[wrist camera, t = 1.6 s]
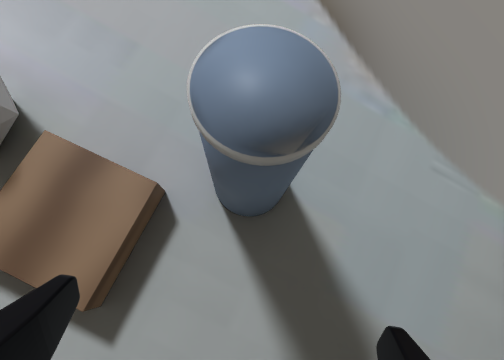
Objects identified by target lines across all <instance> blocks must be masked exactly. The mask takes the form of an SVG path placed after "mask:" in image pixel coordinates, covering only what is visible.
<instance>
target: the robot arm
mask: <svg viewBox="0 0 504 360" xmlns="http://www.w3.org/2000/svg"><path fill="white" fill-rule="evenodd" d="M79 300H80V293H79V288H78V283H77V279H76V277H75V276H71V275H65V274H61V275H58V276H56V277H54V278H53V279H51V280H49V281H48V282H46V283H44V284H43V285H41V286H39V287H38V288H36V289H34V290H33V291H31V292H29V293H28V294H26V295H24V296H23V297H21V298H19V299H18V300H16V301H14V302H13V303H11V304H9V305H8V306H6V307H4V308H3V309H1V310H0V360H50V359H51V358H52V356H53V354H54V352H55V350H56V348H57V346H58V344H59V342H60V340H61V338H62V336H63V334H64V332H65V330H66V328H67V326H68V324H69V321H70V319H71V317H72V315H73V313H74V311H75V309H76V307H77V305H78V303H79ZM377 357H378V360H430V359H429V357H428V356H427V355H426V354H425V353H424V352H423V351H422V349H421V348H420V347H419V346H418V345H417V344H416V342H415V341H414V340H413V339H412V338H411V337H410V336H409V334H408V333H407V332H406V331H405V330H404V329H402V328H400V327H394V326H388V327H386V328H385V330H384V332H383V333H382V335H381V337H380V339H379V340H378V343H377Z"/></svg>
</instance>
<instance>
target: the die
mask: <svg viewBox="0 0 504 360" xmlns="http://www.w3.org/2000/svg"><path fill="white" fill-rule="evenodd" d="M18 115H19V113H18V111H17V109H16V106H15V104H14V102H13V99H12V97H11V95H10V94H9V92H8V90H7V88H6V86H5V84H4V82H3V80H2V78H1V76H0V144H1V143H2V141H3V139H4V138H5V136H6V135H7V133H8V131H9V130H10V128H11V126H12V125H13V123H14V121H15V120H16V118H17V117H18Z"/></svg>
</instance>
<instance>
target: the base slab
mask: <svg viewBox="0 0 504 360" xmlns="http://www.w3.org/2000/svg"><path fill="white" fill-rule="evenodd" d="M164 193H165V190H164V189H163V188H162V187H161V186H160V185H159V184H158V183H156V182H154V181H152V180H150V179H148V178H146V177H144V176H142V175H139V174H137V173H135V172H133V171H131V170H129V169H127V168H125V167H122V166H120V165H118V164H116V163H114V162H112V161H110V160H108V159H105V158H103V157H101V156H99V155H97V154H95V153H93V152H91V151H88V150H86V149H84V148H82V147H80V146H78V145H76V144H74V143H71V142H69V141H67V140H65V139H63V138H61V137H59V136H57V135H54V134H52V133H50V132H48V131H46V130H45V131H44V132H43V133H42V135H41V136H40V137H39V139H38V140H37V141H36V143H35V144H34V145H33V147H32V148H31V150H30V151H29V152H28V154H27V155H26V156H25V158H24V159H23V160H22V162H21V163H20V165H19V166H18V167H17V169H16V170H15V171H14V173H13V174H12V175H11V177H10V178H9V179H8V181H7V182H6V184H5V185H4V186H3V188H2V189H1V190H0V270H2V271H4V272H6V273H8V274H10V275H12V276H14V277H16V278H18V279H20V280H21V281H23V282H25V283H27V284H29V285H31V286H33V287H35V288H38V287H39V286H41V285H43V284H44V283H46V282H48V281H49V280H51V279H53V278H54V277H56V276H58V275H61V274H65V275H71V276H75V277H76V279H77V283H78V288H79V293H80V300H79V303H78V305H77V307H76V309H78V310H80V311H82V312H84V311H87V310H90V309H93V308H97V307H100V306H101V305H102V303H103V301H104V299H105V298H106V296H107V294H108V292H109V290H110V289H111V287H112V285H113V283H114V282H115V280H116V278H117V276H118V275H119V273H120V271H121V269H122V267H123V266H124V264H125V262H126V260H127V259H128V257H129V255H130V253H131V252H132V250H133V248H134V246H135V244H136V243H137V241H138V239H139V237H140V236H141V234H142V232H143V230H144V228H145V227H146V225H147V223H148V221H149V220H150V218H151V216H152V214H153V213H154V211H155V209H156V207H157V205H158V204H159V202H160V200H161V198H162V197H163V195H164Z"/></svg>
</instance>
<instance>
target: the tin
mask: <svg viewBox="0 0 504 360" xmlns="http://www.w3.org/2000/svg"><path fill="white" fill-rule="evenodd" d="M187 97H188V103H189V107H190V110H191V114H192V117H193V120H194V122H195V124H196V126H197V128H198V130H199V132H200V136H201V140H202V143H203V147H204V151H205V154H206V158H207V162H208V165H209V169H210V172H211V176H212V180H213V183H214V187H215V191H216V194H217V196H218V198H219V200H220V201H221V203H222V204H223V205H224V206H225V207H226V208H227V209H229V210H230V211H232V212H233V213H236V214H238V215H242V216H257V215H261V214H263V213H266V212H267V211H269V210H271V209H272V208H273V207H274V206H275V205H276V204H277V203H278V201H279V200H280V198H281V197H282V195H283V194H284V192H285V191H286V189H287V188H288V186H289V185H290V183H291V182H292V180H293V179H294V178H295V176H296V175H297V173H298V172H299V170H300V169H301V167H302V166H303V164H304V163H305V161H306V160H307V158H308V157H309V155H310V154H311V152H312V151H313V149H314V148H316V147H317V146H318V145H319V144H320V143H321V142H322V140H323V139H324V138H325V136H326V135H327V133H328V132H329V130H330V129H331V128H332V126H333V124H334V122H335V120H336V118H337V115H338V112H339V109H340V103H341V88H340V82H339V78H338V75H337V72H336V70H335V68H334V66H333V64H332V62H331V61H330V59H329V58H328V56H327V55H326V54H325V53H324V51H323V50H322V49H321V48H320V47H319V46H318V45H316V44H315V43H314V42H313V41H311V40H310V39H308V38H307V37H305V36H304V35H302V34H300V33H298V32H296V31H293V30H290V29H288V28H284V27H280V26H276V25H268V24H254V25H246V26H241V27H237V28H234V29H231V30H228V31H226V32H224V33H222V34H220V35H219V36H217V37H215V38H214V39H213V40H211V41H210V42H209V43H208V44H207V45H206V46H205V47H204V48H203V49H202V50H201V51H200V52H199V54H198V55H197V57H196V58H195V60H194V62H193V64H192V66H191V69H190V72H189V75H188V81H187Z"/></svg>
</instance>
